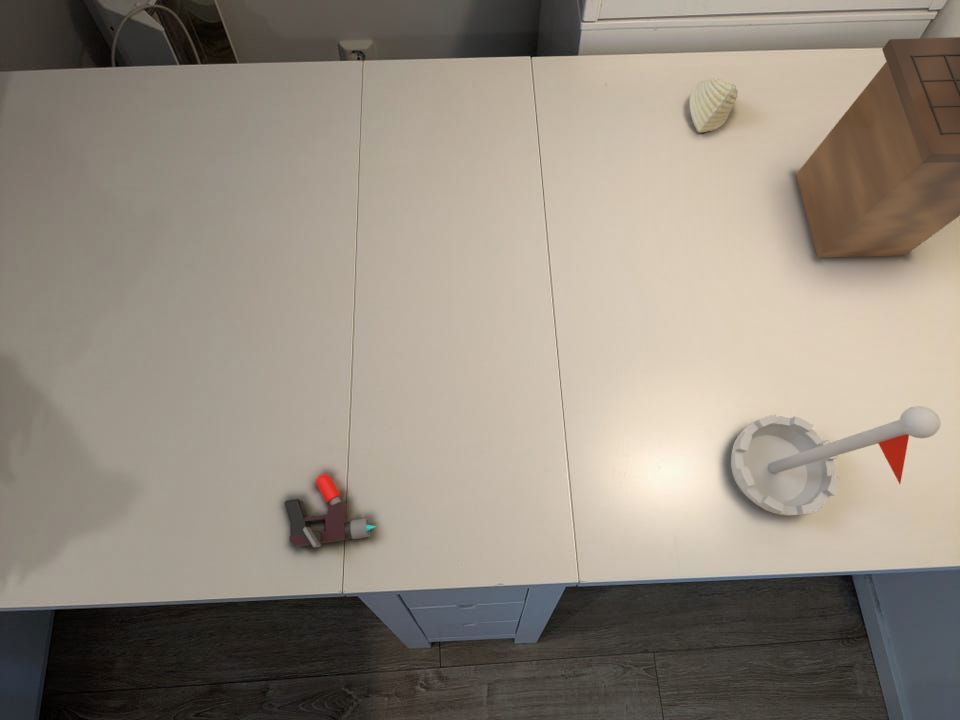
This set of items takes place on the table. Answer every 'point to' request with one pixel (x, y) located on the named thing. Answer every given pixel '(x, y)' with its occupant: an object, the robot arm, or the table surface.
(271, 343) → the table surface
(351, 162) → the table surface
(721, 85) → the seashell
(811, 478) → the flag stand
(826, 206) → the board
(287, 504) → the toy gun
